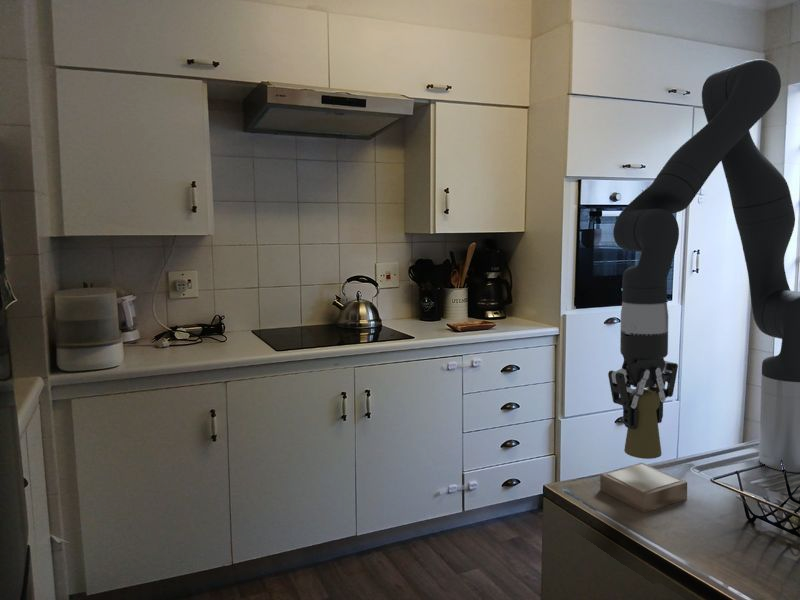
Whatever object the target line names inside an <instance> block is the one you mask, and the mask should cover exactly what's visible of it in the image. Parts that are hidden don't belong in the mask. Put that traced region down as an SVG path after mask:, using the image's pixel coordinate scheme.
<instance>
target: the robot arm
mask: <svg viewBox="0 0 800 600" xmlns="http://www.w3.org/2000/svg"><path fill="white" fill-rule="evenodd" d="M781 87H782V79H781V75H780V72H779V70H778V68H777V67H776V66H775V65H774V63H772V62H771V61H769V60H767V59H763V58H762V59H761V58H758V59H757V58H756V59H751V60H747V61H744V62H741V63H738V64H734V65H731V66H730V67H727V68H723V69H721V70H718V71H716V72H714V73H712V74H710V75H709V76H708V77H707V78H706V80H705V82H704V83H703V84H702V90H701V103H702V104H701V105H702V109H703V112H704V116H705V119H706V121H707V124H706V125H705V126H703V127H702V128H701V129H700V130H699V131H697V132H696V133H695V134H694V135H693V136H691V137H690V138H689V139H688V140H687V141H686V142H684V143H683V144H682V145H681V146H680V147H679V148H678V149H677V150H676V151H675V152H674V153H673V154H672V155H671V156H670V158H669V159H668V160H667V162H666V163H664V166H663V167H662V168H661V170H660V171H659V173H658V174H657V175H656V177H655V178H654V179H653V181H652V183H651V184H650V185H649V186H647V188H645V189H644V190H643V191H642V192H640V193H639V194H638V195H637V196H636V197H635V198H634V199H633V200H631V202H630V203H628V204H627V205H626V206H625V207H624V208H623V209H622V211H621V212H620V213H619V215H618V216H617V218H616V219H615V223H614V226H613V233H612V234H613V240H614V242H615V244H616V245H617V246H618V247H620V249H622V250H625V251H629V252H639V253H640V255H639V256H640V257H639V259H638V263H637V265H633V266H630V267H628V268H626V269H625V270H624V271H623V274H622V282H621V283H622V284H621V285H622V287H621V289H622V292H621V293H622V294H621V300H622V302H621V311H620V348H619V349H620V351H619V352H620V354H621V355H622V358H623V363H622V365H621V368H620V369H618V370H609V372H608V373H607V377H608V381H609V387H610V392H611V399H612V402H613V403H614V404H616V405H619V406H622V409H623V410H622V421H623V422H622V423H623V425H624V427H626V428H627V429H628V428H630V429H636V428H637V408H636V406H637V403H638V399H639V397H640V396H641V395H642V394H643V391H644V389H647V390H652V391H654V392H656V393H657V394H658V396H659V398H660V405H659V408H658V409H657V410H656V413H657V421H658V424H661V423H662V421H663V417H664V402H665V401H666V399H667V398H672V397H673V395H674V390H675V384H676V379H677V375H678V374H677V373H678V369H679V365H678V363H675V362H671V361H668V360H665V358H667V356H668V355H669V310H668V277H669V273H670V271H671V268H672V264H673V261H674V256H675V254H676V251H677V246H678V244H679V237H680V228H679V224H678V221H677V219H676V216H675V215H674V214H677V213H680V212H682V211H684V210H685V209H687V208H688V206H689V205H691V203H692V202H693V200H694V199H695V198H696V196H697V195H698V194H699V191H701V189H702V187H703V186H704V185H705V183H706V181H707V180H708V179H709V177H710V176H711V174H712V173H713V172H714V170H715V169H716V168H717V167H718V166H719V164H720V163H721V165H722V169H723V172H724V176H725V179H726V183H727V188H728V192H729V197H730V201H731V207H732V210H733V215H734V220H735V223H736V227H737V230H738V233H739V237H740V242H741V246H742V251H743V257H744V260H745V261H744V262H745V266H746V270H747V271H746V272H747V278H748V285H749V293H750V294H749V295H750V301H751V310H752V314H753V315H752V316H753V319H754V322H755V324H756V326H757V328H758V330H759V331H760V332H762V333H763V334H764V335H766V336H769V337H772V338H776V339H781V345H780V351H779V353H778V354H777V355H773V356H772V355H771V356H768V357H765V358H763V360H762V363H761V377H760V378H761V379H760V381H761V382H760V384H761V386H760V411H759V412H760V414H759V415H760V419H759V441H758V442H759V444H758V445H759V446H758V447H759V448H758V461H759V463H761V464H763V465H764V464H765V465H764V466H766V467H769V468H771V469H773V470H777V471H782V465H781V462H780V461H781V460H783V464H784V467H785V470H786V471H785V472H787V473H800V291H798V290H791V288H790V285H789V282H788V279H787V275H786V269H785V257H786V252H787V249H788V246H789V244H790V241H791V238H792V236H793V233H794V228H795V223H796V215H795V213H796V212H795V208H794V204H793V199H792V195H791V191H790V188H789V184H788V182H787V180H786V179H785V177H784V176H783V175H782V173H781V172H780V171H779V170H778V168H777V167H776V166H775V165H773V163H772V162H771V161H770V160H769V159H768V158H767V157H766V156H765V155H764V154H763V152H761V151H760V149H759V148H758V147H757V145H756V144H755V142H754V139H753V138H752V134H751V132H750V130H751V128H752V127H754V126H755V125H756V124H757V123H758V121H760V120H761V119H762V118H763V117H764V116H765V115H766V113H767V112H768V111H770V110H771V108H772V107H773V106H774V104H775V103H776V102H777V99H778V98H779V95H780V93H781V89H782V88H781ZM666 383H667V386H666ZM665 386H666V387H665ZM632 387H633V388H632ZM631 393H632V397H631V400H629V397H630V394H631Z"/></svg>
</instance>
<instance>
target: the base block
mask: <svg viewBox="0 0 800 600" xmlns="http://www.w3.org/2000/svg"><path fill="white" fill-rule="evenodd" d="M599 478H600V479H599V484H600V485H599V490H600V491H601V492H604V493H606V494H607V495H609V496H611V497H612V498H613V497H614V498H615V499H617V500H619V501H621V502H623V503H625V504H626V505H628V506H630V507H632V508H634V509H636V510H637V511H640V512H641V513H643V514H645V513H647V512H650V511H653V510H656V509H660V508H663V507H665V506H670V505H671V503H673V504H675V503H674V502H676V503H678V502H681V501H685V500H688V482H687V481H686V480H683V479H681V478H678V477H676V476H674V475H672V474H669V473H667V472H665V471H662V470H660V469H657V468H655V467H653V466H651V465H649V464H646V463H644V462H639V463H635V464H632V465H627V466H625V467H620V468H618V469H612V470H610V471H605V472H602V473H600V474H599Z"/></svg>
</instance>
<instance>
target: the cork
mask: <svg viewBox="0 0 800 600" xmlns="http://www.w3.org/2000/svg"><path fill="white" fill-rule="evenodd" d="M631 397H632V393H631V394H630V397H629V400H631ZM659 405H660V398H659V396H658V394H657V393H656V392H654V391H652V390H647V389H646V388H644V391H643V394H642V395H641V396H640V397H639V399H638V403H637V406H636V408H637V428H636V429H630V428H627V431H626V436H625V437H626V438H625V443H624V450H623V451H624V453H625V454H627V455H628V456H629V457H633V458H637V459H643V460H644V459H645V460H652V459H657V458H659V457H661V456H662V447H661V439H660V438H661V437H660V429H659V423H658V421H657V413H656V410H657V409H658V408H659Z"/></svg>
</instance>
